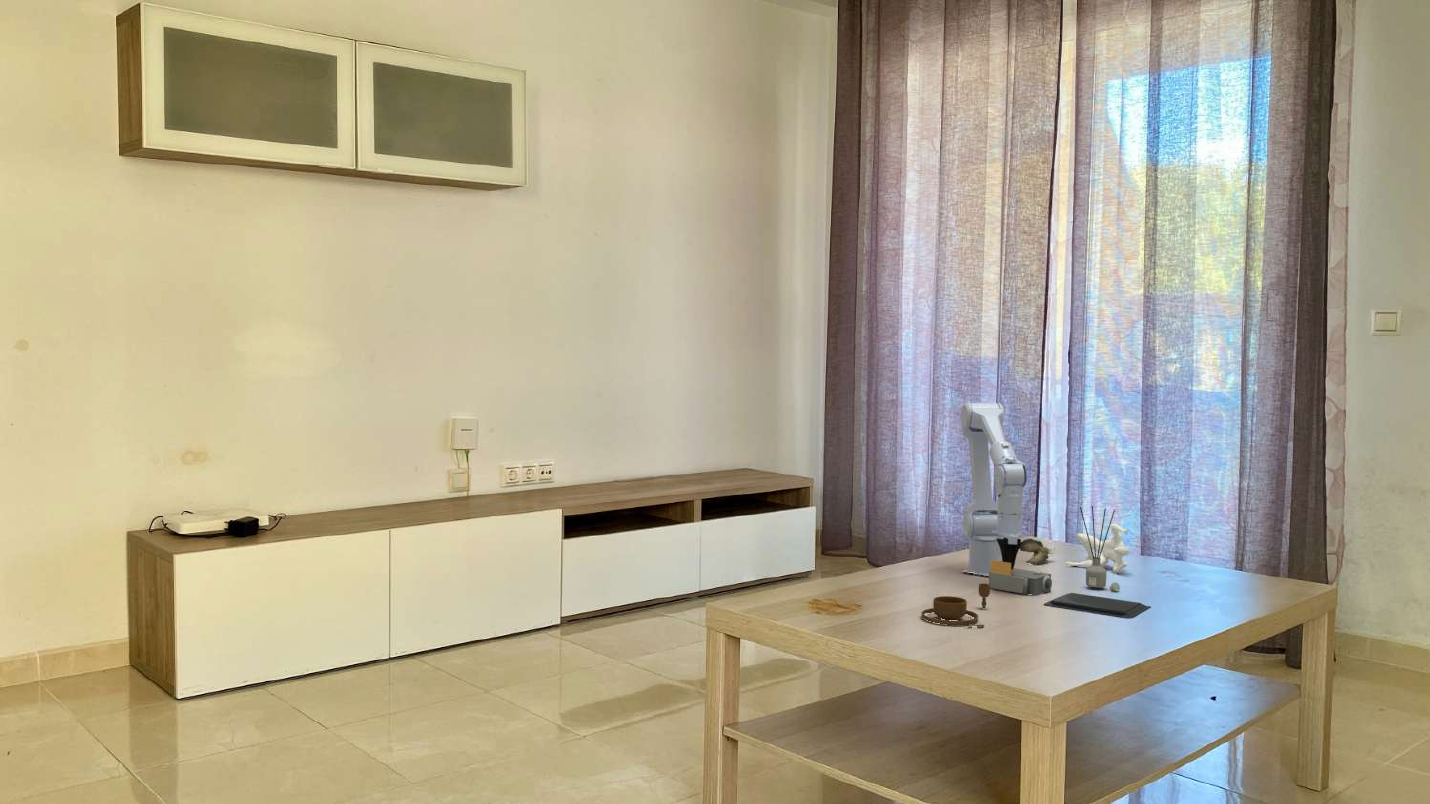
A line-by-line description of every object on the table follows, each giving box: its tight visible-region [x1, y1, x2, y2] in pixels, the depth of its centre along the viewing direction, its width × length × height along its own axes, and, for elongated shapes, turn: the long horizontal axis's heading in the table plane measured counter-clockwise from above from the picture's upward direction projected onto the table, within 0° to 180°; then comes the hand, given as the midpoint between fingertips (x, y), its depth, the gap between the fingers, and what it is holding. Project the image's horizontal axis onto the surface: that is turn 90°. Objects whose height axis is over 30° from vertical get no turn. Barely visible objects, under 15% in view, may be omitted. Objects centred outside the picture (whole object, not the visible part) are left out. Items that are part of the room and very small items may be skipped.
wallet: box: [1043, 592, 1152, 620], centre depth 250 cm, size 20×2×15 cm
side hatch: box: [990, 560, 1028, 595], centre depth 264 cm, size 1×10×7 cm, turn 47°
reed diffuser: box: [1079, 505, 1121, 592], centre depth 269 cm, size 10×7×20 cm
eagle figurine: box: [1019, 538, 1056, 565], centre depth 302 cm, size 8×7×9 cm
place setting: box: [920, 583, 991, 629], centre depth 238 cm, size 18×20×6 cm
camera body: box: [988, 567, 1053, 596], centre depth 267 cm, size 8×13×4 cm, turn 47°
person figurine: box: [1065, 523, 1131, 575], centre depth 295 cm, size 13×13×18 cm
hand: (1008, 569), depth 268 cm, fingers closed
